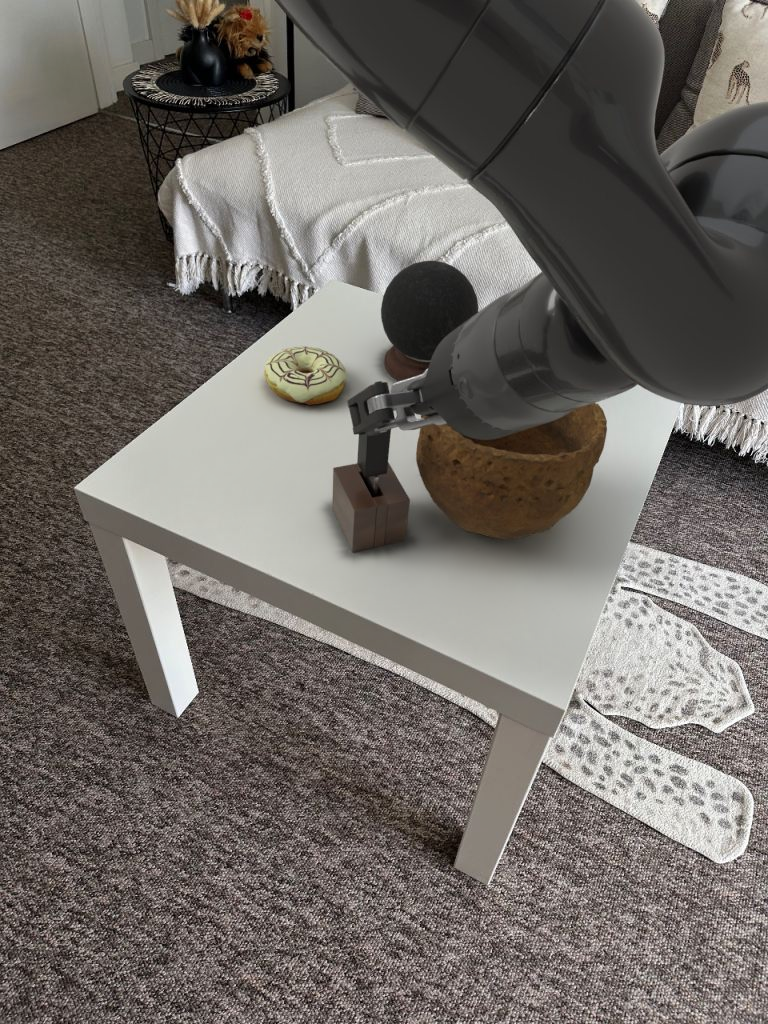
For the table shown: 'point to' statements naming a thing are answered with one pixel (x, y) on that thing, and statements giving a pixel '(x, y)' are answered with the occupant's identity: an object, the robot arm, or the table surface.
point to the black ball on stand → (423, 314)
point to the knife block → (369, 508)
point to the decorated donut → (305, 375)
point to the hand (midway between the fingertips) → (419, 414)
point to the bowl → (512, 473)
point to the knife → (373, 458)
